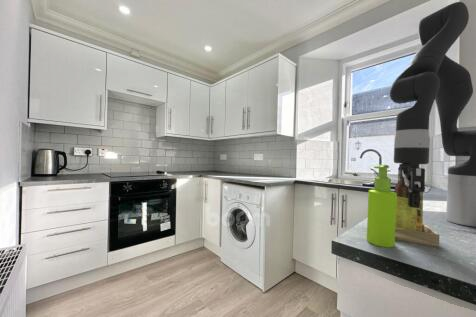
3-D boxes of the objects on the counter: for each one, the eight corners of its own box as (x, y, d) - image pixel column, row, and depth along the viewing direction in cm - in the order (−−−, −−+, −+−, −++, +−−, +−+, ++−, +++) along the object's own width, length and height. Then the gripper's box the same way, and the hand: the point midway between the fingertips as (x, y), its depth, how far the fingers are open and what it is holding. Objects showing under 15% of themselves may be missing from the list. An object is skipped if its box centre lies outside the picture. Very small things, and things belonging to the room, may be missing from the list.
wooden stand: (382, 228, 63) (382, 218, 63) (424, 234, 59) (425, 224, 59) (388, 238, 55) (389, 227, 55) (438, 246, 50) (439, 234, 50)
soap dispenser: (361, 242, 51) (364, 164, 51) (370, 236, 56) (373, 164, 56) (389, 250, 47) (393, 165, 47) (397, 243, 51) (400, 165, 51)
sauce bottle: (423, 240, 52) (425, 164, 52) (393, 234, 56) (394, 163, 56) (420, 233, 57) (422, 164, 57) (393, 228, 61) (394, 163, 61)
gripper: (440, 145, 49) (437, 212, 49) (419, 148, 61) (417, 201, 61) (401, 145, 52) (398, 207, 52) (389, 148, 65) (387, 198, 65)
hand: (408, 204), depth 57 cm, fingers open, 8 cm apart
